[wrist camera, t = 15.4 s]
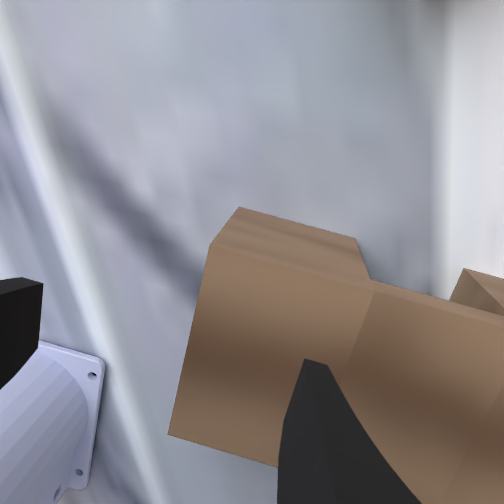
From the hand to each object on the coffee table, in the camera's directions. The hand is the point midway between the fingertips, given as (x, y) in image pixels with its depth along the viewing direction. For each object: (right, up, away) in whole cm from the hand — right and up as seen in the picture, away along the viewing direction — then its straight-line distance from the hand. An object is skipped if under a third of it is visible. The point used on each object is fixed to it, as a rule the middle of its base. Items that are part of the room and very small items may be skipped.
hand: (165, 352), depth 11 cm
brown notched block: (+8, -1, +9) cm, 13 cm away
